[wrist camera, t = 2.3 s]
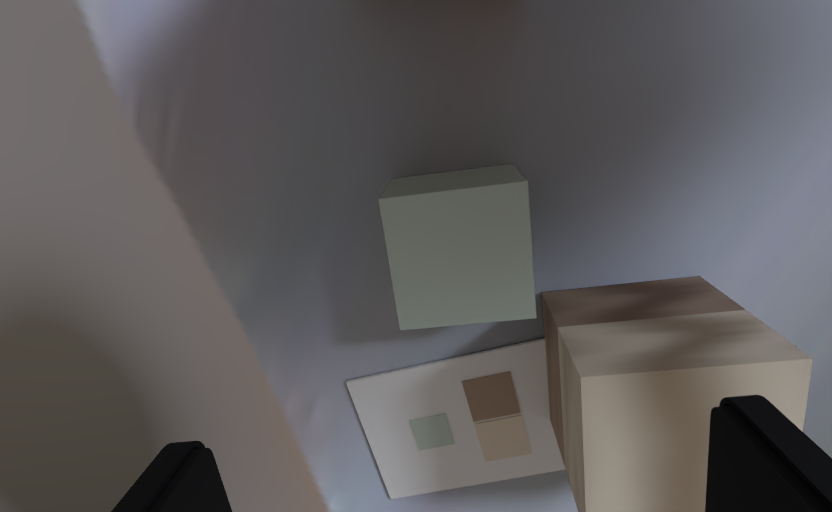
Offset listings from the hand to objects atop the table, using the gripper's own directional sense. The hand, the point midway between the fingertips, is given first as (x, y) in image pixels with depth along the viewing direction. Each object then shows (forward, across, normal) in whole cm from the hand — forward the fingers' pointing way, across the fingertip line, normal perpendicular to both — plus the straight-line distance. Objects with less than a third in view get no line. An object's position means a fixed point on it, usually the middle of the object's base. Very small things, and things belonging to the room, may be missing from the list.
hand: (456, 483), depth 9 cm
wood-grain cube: (+16, -8, +8) cm, 20 cm away
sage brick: (+17, -1, 0) cm, 17 cm away
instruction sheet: (+17, 0, +12) cm, 20 cm away
